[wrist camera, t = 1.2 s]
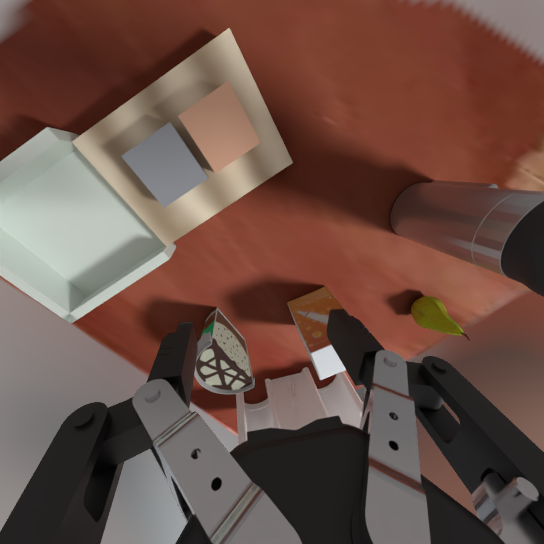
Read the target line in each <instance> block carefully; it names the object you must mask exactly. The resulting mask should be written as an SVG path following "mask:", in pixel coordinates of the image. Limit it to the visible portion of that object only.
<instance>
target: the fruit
mask: <svg viewBox="0 0 544 544" xmlns="http://www.w3.org/2000/svg"><path fill="white" fill-rule="evenodd" d="M411 314H412V316H413V318H414V320H415V321H416V323H417V324H419V325H420V326H421V327H424V328H428V329H433V330H436V331H439V332H443V333H447V334H452V335H465V336H466V337H467V335H466V334H464V332H463V330H462V329H461V328H460V326H459V325H458V324H457V323H456V322H455V321H454V320H453V319H452V318H451V317H450V316H449V314H448V313H447V311H446V308H445V306H444V305H443V303H442V302H441V301H440V300H438V299H437V298H435V297H428V296H423V297H421V298H419V299H417V300H415V301H414V303H413V304H412V306H411ZM467 339H468V340H470V339H469V338H468V337H467Z"/></svg>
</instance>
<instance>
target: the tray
mask: <svg viewBox="0 0 544 544" xmlns="http://www.w3.org/2000/svg"><path fill="white" fill-rule="evenodd" d="M77 137H79V135H78V134H75V133H71V132H67V131H62V130H58V129H54V128H49V127H47V128H45V129H44V130H42V131H41V132H40V133H38V134H37V135H36V136H34V137H33V138H32V139H30V140H29V141H28V142H26V143H25V144H23V145H22V146H21V147H19V148H18V149H17V150H15V151H14V152H13V153H11V154H10V155H8V156H7V157H6V158H4V159H3V160H2V161H0V276H2V277H3V278H5V279H6V280H8V281H9V282H10V283H12V284H13V285H15V286H16V287H18V288H19V289H21V290H22V291H24V292H25V293H27V294H28V295H29V296H31V297H32V298H34V299H35V300H37V301H38V302H40V303H41V304H43V305H44V306H45V307H47V308H48V309H50V310H51V311H53V312H54V313H56V314H57V315H59V316H60V317H61V318H63V319H64V320H66V321H67V322H69V323H70V324H71V323H73V322H74V321H76V320H77V319H79V318H81V317H82V316H84V315H85V314H87V313H88V312H90V311H91V310H93V309H94V308H96V307H97V306H99V305H100V304H102V303H103V302H105V301H106V300H108V299H109V298H111V297H112V296H114V295H116V294H117V293H119V292H120V291H122V290H123V289H125V288H126V287H128V286H129V285H131V284H132V283H134V282H135V281H137V280H138V279H140V278H141V277H143V276H144V275H146V274H147V273H149V272H150V271H152V270H154V269H155V268H157V267H158V266H160V265H161V264H163V263H164V262H166V261H167V260H169V259H170V258H171V256H172V254H173V252H174V251H175V249H176V247H177V246H176V245H175V244H174V243H171V244H170V245H168V246H166V245H165V244H164V243H163V242H162V241H161V240H160V239H159V238H158V237H157V235H156V234H155V233H154V232H153V231H152V230H151V229H150V228H149V227H148V226H147V224H146V223H145V222H144V221H143V220H142V219H141V218H140V217H139V216H138V215H137V213H136V212H135V211H134V210H133V209H132V208H131V207H130V206H129V205H128V204H127V202H126V201H125V200H124V199H123V198H122V197H121V196H120V195H119V194H118V193H117V191H116V190H115V189H114V188H113V187H112V186H111V185H110V184H109V183H108V182H107V180H106V179H105V178H104V177H103V176H102V175H101V174H100V173H99V172H98V171H97V169H96V168H95V167H94V166H93V165H92V164H91V163H90V162H89V161H88V160H87V158H86V157H85V156H84V155H83V154H82V153H81V152H80V151H79V150H78V149H77V147H76V146H75V145H74V144H73V143H72V141H73V140H75V139H76V138H77Z"/></svg>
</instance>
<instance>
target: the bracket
mask: <svg viewBox="0 0 544 544" xmlns="http://www.w3.org/2000/svg"><path fill="white" fill-rule="evenodd" d="M265 384H266V389H267V394H268V398H267V399H266V400H264V401H263V402H261V403H257V404H247V403H244V392H242V393H237V394H236V405H237V422H238V439H239V445H240V444H241V443H243V442H245V441H247V432H249V431H255V430H260V429H266V428H279V429H290V430H297V429H300V428H302V427H303V426H305V425H307V424H309V423H311V422H313V421H315V420H317V419H321V418H327V417H332V416H338V415H339V417H340V419H341V421H342V423H344V424H349V425H352V426H355V427H357V428H359V427H360V422H361V415H362V407H363V403H362V401H361V399H360V398H359V396H358V394H357V393H356V391H355V389H354V388H353V386H352V384H351V383H350V381H349V379H348V378H347V376H346V374H345V373H344V371H343V372H340V373H337V374H336V377H335V379H334V380H333V382H332V383H330V384H329V385H328V386H326V387H324V388H321V389H317V387H316V385H315V383H314V380H313V378H312V376H311V373H310V371H309V368H308V367H305V368H303V369H302V372H301V373H297V374H293V375H289V376H285V377H281V378H277V379H273V380H270V379H265Z"/></svg>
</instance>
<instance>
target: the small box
mask: <svg viewBox="0 0 544 544" xmlns="http://www.w3.org/2000/svg"><path fill="white" fill-rule="evenodd" d="M287 304H288V307H289V310H290V312H291V315H292V317H293V320H294V323H295V325H296V328H297V330H298V332H299V334H300V337H301V339H302V341H303V343H304V345H305V348H306V350H307V352H308V354H309V356H310V359H311V361H312V363H313V365H314V368H315V370H316V372H317V374H318V377H319V379H320V380H323V379H325V378H327V377H330V376H332V375H335V374H337V373H340V372H343V371H345V370H346V369H345V367H344V365H343V364H342V362H341V360H340V358H339V357H338V355H337V353H336V352H335V350H334V348H333V347H332V345H331V343H330V341H329V340H328V337H327V324H328V318H329V312H330V310H332V309H344V310H345V308H344V307H343V306H342V305H341V304H340V302H339V301H338V300H337V299H336V298H335V296H334V295H333V294H332V293H331V292H330V291H329V289H328V288H327V287H326V286H325V287H323V288H321V289H318V290H316V291H314V292H311V293H309V294H306V295H304V296H302V297H299V298H297V299H294V300H292V301H289V302H287ZM345 311H346V310H345ZM346 312H347V311H346ZM347 313H348V312H347ZM348 314H349V313H348ZM349 316H351V315H350V314H349Z"/></svg>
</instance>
